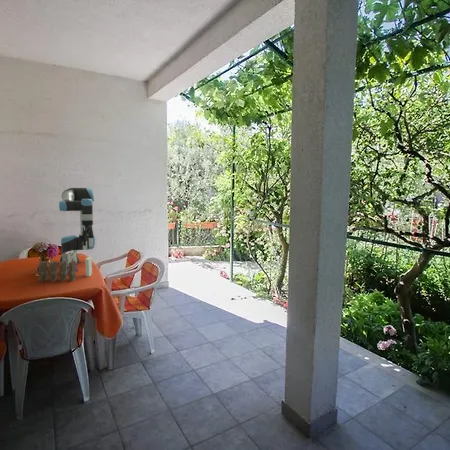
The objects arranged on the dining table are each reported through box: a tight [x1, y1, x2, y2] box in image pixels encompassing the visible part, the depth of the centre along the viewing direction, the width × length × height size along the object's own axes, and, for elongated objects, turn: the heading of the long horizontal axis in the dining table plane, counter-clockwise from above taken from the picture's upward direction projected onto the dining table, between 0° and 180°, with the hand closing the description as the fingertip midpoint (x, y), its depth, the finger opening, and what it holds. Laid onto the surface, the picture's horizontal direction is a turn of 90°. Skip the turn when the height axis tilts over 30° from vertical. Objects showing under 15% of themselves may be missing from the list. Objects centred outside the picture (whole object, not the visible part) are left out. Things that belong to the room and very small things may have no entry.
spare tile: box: [84, 256, 93, 277], centre depth 235 cm, size 2×7×13 cm, turn 7°
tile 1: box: [38, 260, 49, 283], centre depth 220 cm, size 2×7×13 cm, turn 6°
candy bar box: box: [61, 250, 79, 276], centre depth 240 cm, size 11×5×16 cm, turn 168°
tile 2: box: [48, 260, 58, 283], centre depth 221 cm, size 2×7×13 cm, turn 7°
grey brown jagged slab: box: [58, 261, 68, 282], centre depth 222 cm, size 2×7×13 cm, turn 7°
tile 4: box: [68, 261, 77, 282], centre depth 222 cm, size 2×7×13 cm, turn 7°
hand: (88, 248), depth 233 cm, fingers open, 13 cm apart
